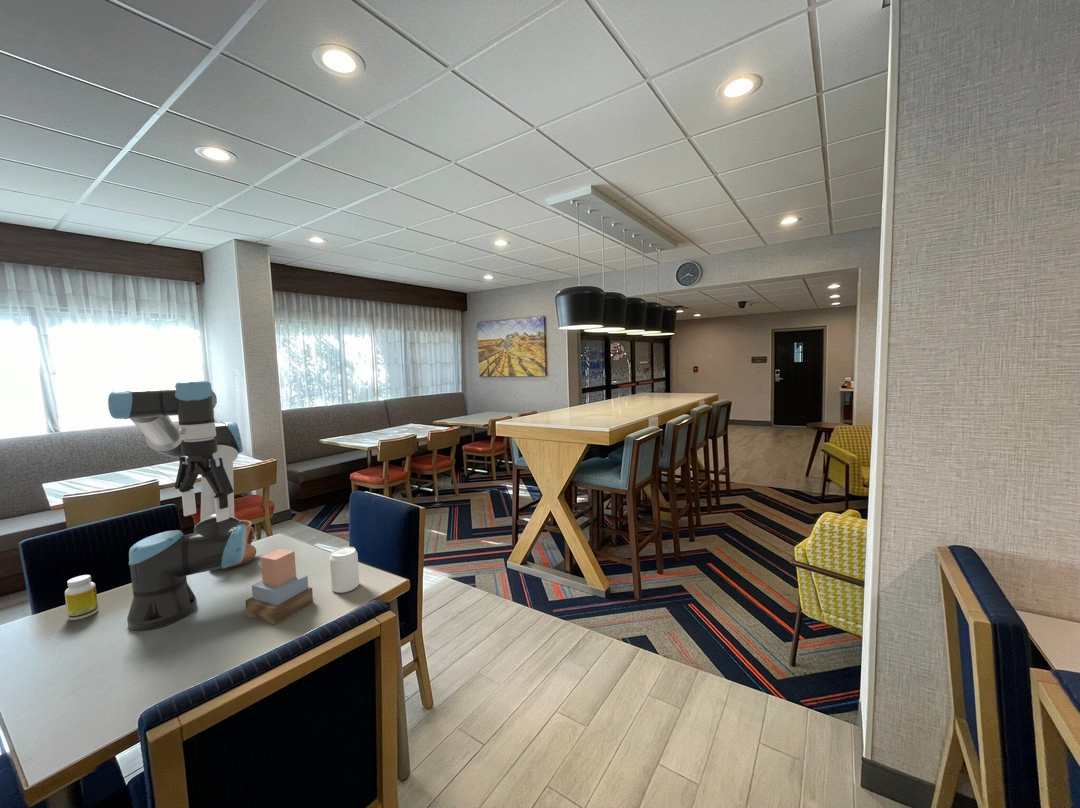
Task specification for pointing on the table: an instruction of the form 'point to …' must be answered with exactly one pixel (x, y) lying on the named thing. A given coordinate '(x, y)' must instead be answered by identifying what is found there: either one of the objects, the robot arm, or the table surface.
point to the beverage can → (344, 569)
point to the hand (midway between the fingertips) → (206, 517)
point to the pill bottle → (81, 597)
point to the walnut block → (278, 607)
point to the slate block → (280, 590)
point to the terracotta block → (278, 567)
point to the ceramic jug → (247, 544)
